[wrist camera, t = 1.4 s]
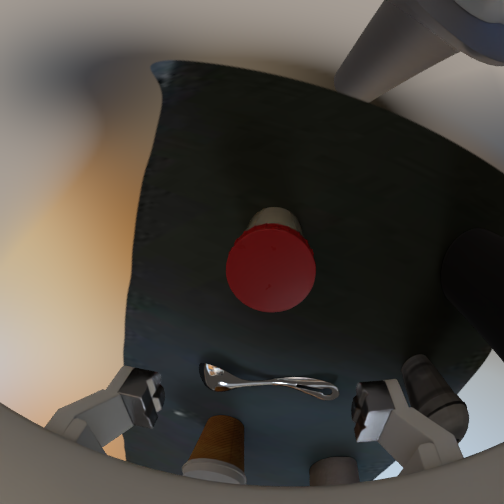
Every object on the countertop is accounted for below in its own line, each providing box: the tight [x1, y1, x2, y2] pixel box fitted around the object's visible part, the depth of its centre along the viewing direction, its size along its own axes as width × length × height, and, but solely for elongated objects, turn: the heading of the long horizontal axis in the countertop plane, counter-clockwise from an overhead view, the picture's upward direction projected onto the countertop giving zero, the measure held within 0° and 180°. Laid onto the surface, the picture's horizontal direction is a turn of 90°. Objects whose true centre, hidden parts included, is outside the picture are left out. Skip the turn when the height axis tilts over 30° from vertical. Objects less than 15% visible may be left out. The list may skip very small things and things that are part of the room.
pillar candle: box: [309, 457, 359, 486], centre depth 38 cm, size 10×10×15 cm
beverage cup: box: [401, 354, 469, 443], centre depth 26 cm, size 7×7×20 cm
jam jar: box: [246, 207, 305, 239], centre depth 27 cm, size 6×6×11 cm
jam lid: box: [226, 223, 316, 312], centre depth 22 cm, size 7×7×2 cm
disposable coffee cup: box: [182, 415, 247, 485], centre depth 37 cm, size 10×10×12 cm
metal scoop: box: [199, 363, 339, 400], centre depth 37 cm, size 20×4×5 cm
